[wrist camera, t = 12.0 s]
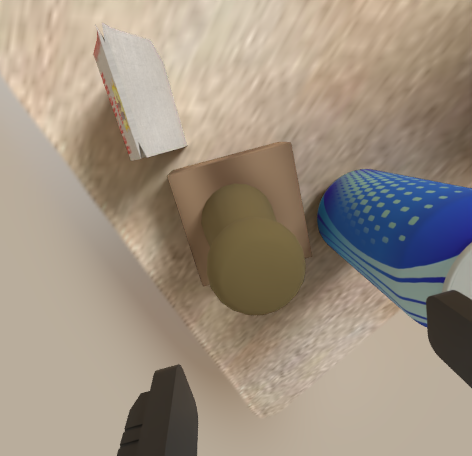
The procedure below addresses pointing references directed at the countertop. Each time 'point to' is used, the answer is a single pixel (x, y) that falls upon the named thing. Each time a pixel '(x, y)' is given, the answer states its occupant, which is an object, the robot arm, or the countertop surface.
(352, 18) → the countertop surface
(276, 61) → the countertop surface
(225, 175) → the walnut base
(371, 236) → the beer can
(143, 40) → the white tall box
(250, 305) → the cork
